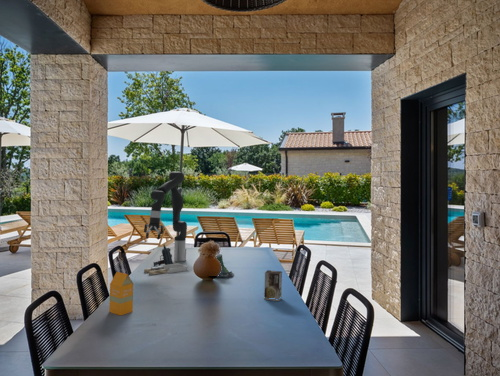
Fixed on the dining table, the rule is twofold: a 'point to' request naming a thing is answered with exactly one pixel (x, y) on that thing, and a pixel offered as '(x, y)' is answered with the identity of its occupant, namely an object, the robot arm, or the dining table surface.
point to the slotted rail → (155, 271)
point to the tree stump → (223, 269)
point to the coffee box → (273, 285)
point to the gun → (165, 257)
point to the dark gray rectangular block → (154, 268)
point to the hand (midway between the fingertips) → (152, 238)
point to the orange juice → (121, 294)
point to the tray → (173, 266)
